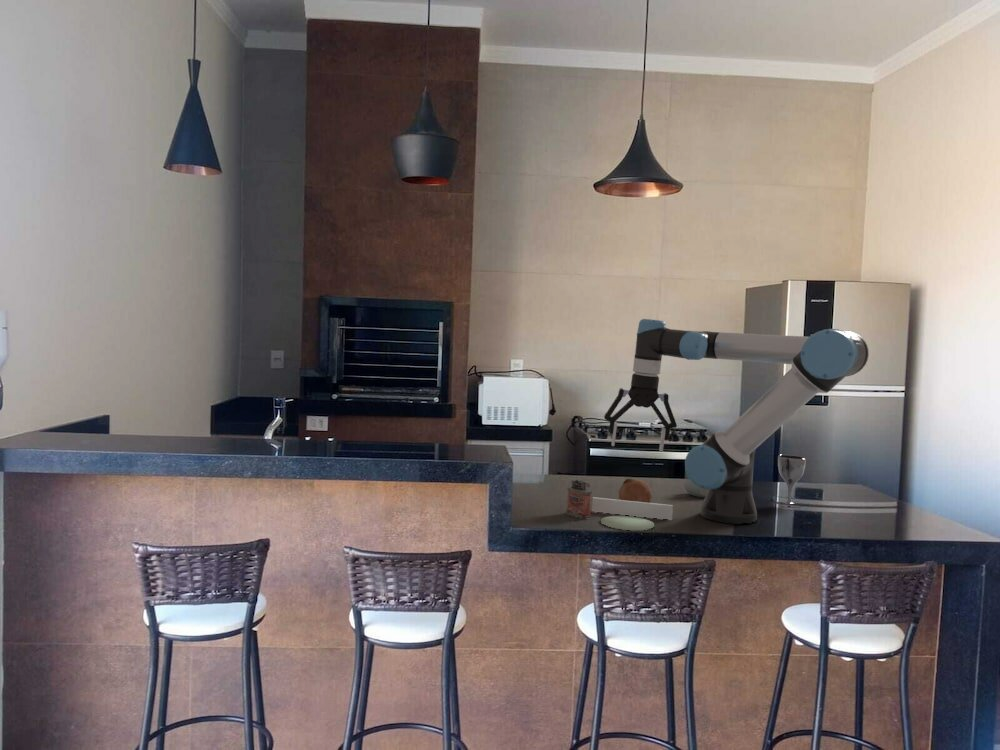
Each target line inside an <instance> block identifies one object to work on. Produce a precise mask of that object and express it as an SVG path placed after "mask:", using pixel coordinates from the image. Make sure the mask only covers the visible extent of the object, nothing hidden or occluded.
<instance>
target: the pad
mask: <svg viewBox="0 0 1000 750" xmlns="http://www.w3.org/2000/svg"><path fill="white" fill-rule="evenodd" d="M600 523H601V525H603V524H604V525H606V526H605V527H607V526H608V527H607V528H609V527H611V528H610V529H613V528H615V529H614V530H618V529H622V530H621V531H626V530H630V531H629V532H644V530H645V531H650V530H652V529H651V528H653V527H654V528H655V523H654V522H653V521H651V520H649V519H648V518H644V517H634V516H625V515H610V516H609V515H608V516H603V517H602V518H601V520H600ZM604 525H603V526H604ZM654 528H653V529H654ZM649 529H650V530H649Z"/></svg>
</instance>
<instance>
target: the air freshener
mask: <svg viewBox="0 0 1000 750" xmlns="http://www.w3.org/2000/svg"><path fill="white" fill-rule="evenodd" d="M684 490H685V491H686V492H687V493H688V494H689V495H691V496H693V497H696V498H700V497H701V499H702V498H703V499H705V497H706V494H707V492H708V489H702V488H699V487H697V486H696V485H695V484H693V483H692V482H691V480H690V479H689V478H688V479H687V480H685V482H684Z"/></svg>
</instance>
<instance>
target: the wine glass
mask: <svg viewBox="0 0 1000 750" xmlns="http://www.w3.org/2000/svg"><path fill="white" fill-rule="evenodd" d="M806 462H807V458H806V456H802V455H798V454H796V455H795V454H787V453H786V454H783V453H782V454H778V456H777V467H778V472H779V474H780V477H781V478H782V479H783V480H784V482H785V484H786V486H787V500H785V501H782V502H783V503H785V504H795V502H793V501H792V500H791V499H792V491H793V487H794V485H795V484H796V483H797V482H798V481H799V480H800V479H801V478H802V477H803V475H804V473H805V469H806Z"/></svg>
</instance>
